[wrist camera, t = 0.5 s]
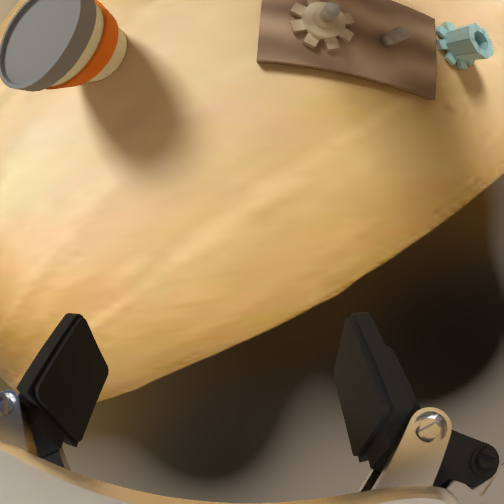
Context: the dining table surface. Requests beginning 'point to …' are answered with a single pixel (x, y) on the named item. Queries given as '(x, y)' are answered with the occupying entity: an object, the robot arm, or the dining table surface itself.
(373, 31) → the gear board
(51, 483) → the robot arm
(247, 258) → the dining table surface
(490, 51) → the loose cog
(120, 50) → the reusable coffee cup
